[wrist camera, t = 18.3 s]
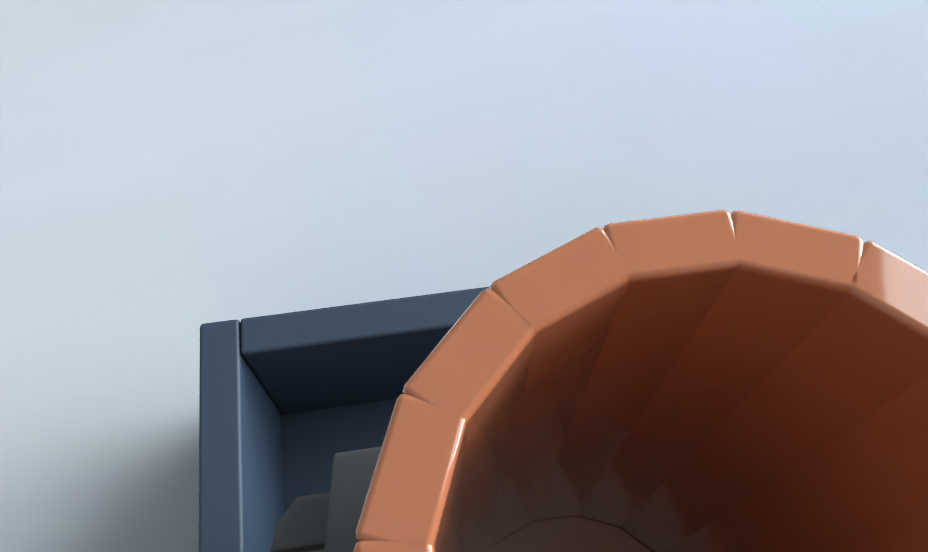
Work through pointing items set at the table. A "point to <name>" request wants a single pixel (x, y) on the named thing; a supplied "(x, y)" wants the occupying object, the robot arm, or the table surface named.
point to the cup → (670, 400)
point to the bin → (301, 403)
